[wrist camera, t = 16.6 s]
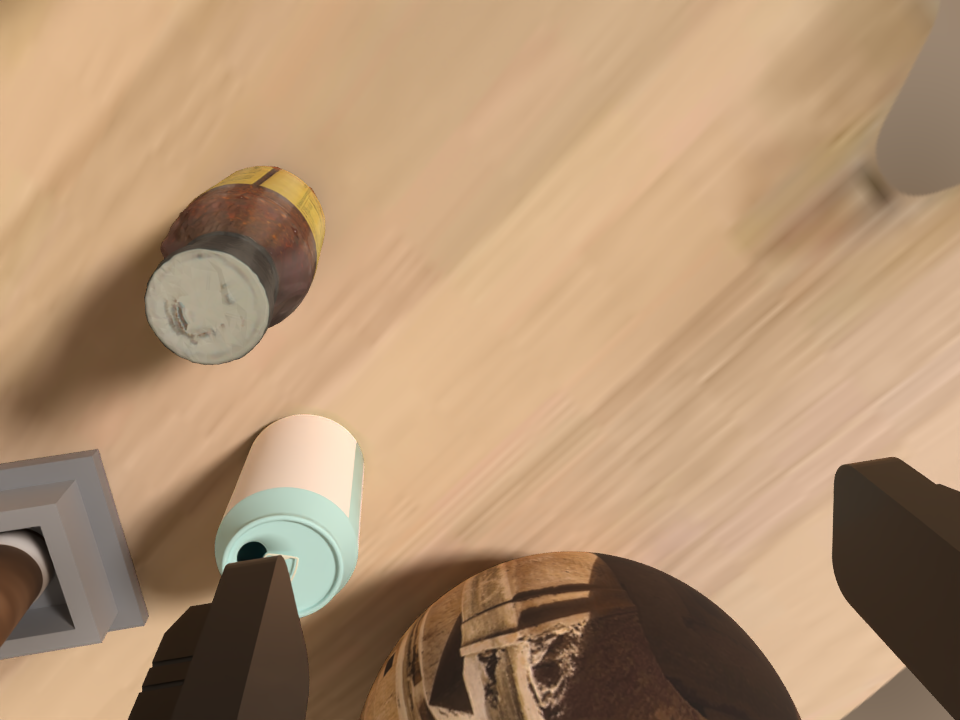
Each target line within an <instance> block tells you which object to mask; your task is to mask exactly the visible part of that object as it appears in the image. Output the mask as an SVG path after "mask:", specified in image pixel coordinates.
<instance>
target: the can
mask: <svg viewBox="0 0 960 720" xmlns="http://www.w3.org/2000/svg"><path fill="white" fill-rule="evenodd" d="M363 479H364V459H363V455H362V452H361V449H360V447H359V445H358V443H357V441H356V440H355V438H354V437H353V436H352V435H351V434H350V432H348V431H347V430H346V429H345V428H344V427H343V426H341V425H340V424H338V423H337V422H335V421H333V420H330V419H328V418H325V417H322V416H317V415H310V414H300V415H293V416H288V417H285V418H282V419H280V420H277V421H275V422H274V423H272V424H270V425H269V426H268V427H266V428H265V429H264V430H263V431H262V432H261V433H260V434H259V435H258V436H257V438H256V439H255V441H254V443H253V444H252V447H251V449H250V451H249V454H248V456H247V459H246V461H245V464H244V466H243V469H242V471H241V474H240V476H239V479H238V481H237V484H236V486H235V489H234V491H233V494H232V496H231V499H230V501H229V504H228V506H227V508H226V511H225V513H224V516H223V518H222V521H221V523H220V526H219V528H218V531H217V534H216V539H215V558H216V563H217V566H218V569H219V572H220V574H221V576H222V573H223V570H224V568H225V566H226V565H227V564H228V563H234V562H240V561H246V560H252V559H258V558H265V557H271V556H277V555H282V556H283V558H284V560H285V562H286V565H287V568H288V572H289V576H290V580H291V585H292V589H293V593H294V598H295V602H296V606H297V611H298V615H299V618H301V617H305V616H307V615H310V614H312V613H314V612H316V611H318V610H320V609H321V608H322V607H324V606H325V605H326V604H327V603H328V602H329V601H330V600H331V599H332V598H333V597H334V596H335V595H336V594H337V593H338V592H339V591H340V590H341V589H342V588H343V587H344V586H345V585H346V583H347V582H348V580H349V579H350V577H351V576H352V574H353V571H354V569H355V566H356V563H357V558H358V548H359V534H360V521H361V507H362V493H363Z"/></svg>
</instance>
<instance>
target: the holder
mask: <svg viewBox="0 0 960 720" xmlns="http://www.w3.org/2000/svg"><path fill="white" fill-rule="evenodd" d="M23 528H27V529H30V530H33V531H35V532H37V533H39V534H40V535H42V536H43V537H44V538H45V541H46V544H47V547H48V550H49V553H50V556H51V559H52V562H53V565H54V568H55V574H54V576H53V578H52V580H51V581H50V583H49V584H48V586H47V587H46V588H45V590H44V591H43V593H42V594H41V595H40V597H39V598H38V599H37V600H36V601H35V602H34V603H32V605H31V606H30V607H29V609H28V610H27V612H26V613H25V614H24V616H23V617H22V619H21V620H20V621H19V623H18V624H17V625H16V627H15V628H14V630H13V631H12V632H11V634H10V635H9V636H8V638H7V639H6V641H5V642H4V643H3V645H2V646H1V647H0V660H1V659H7V658H13V657H19V656H25V655H31V654H37V653H43V652H49V651H55V650H61V649H67V648H73V647H79V646H85V645H91V644H97V643H102V641H103V640H104V638H105V636H106V634H107V632H109V631H115V630H121V629H127V628H133V627H139V626H144V625H145V623H146V621H147V619H148V617H149V615H148V612H147V608H146V605H145V602H144V598H143V595H142V592H141V589H140V585H139V582H138V579H137V575H136V572H135V569H134V566H133V562H132V559H131V556H130V552H129V549H128V546H127V543H126V539H125V536H124V533H123V529H122V526H121V523H120V520H119V516H118V513H117V510H116V506H115V503H114V500H113V496H112V493H111V490H110V487H109V483H108V480H107V477H106V473H105V470H104V467H103V464H102V460H101V457H100V454H99V450H98V449H95V450H89V451H82V452H76V453H69V454H63V455H56V456H49V457H43V458H36V459H30V460H23V461H17V462H10V463H3V464H0V532H4V531H10V530H17V529H23Z"/></svg>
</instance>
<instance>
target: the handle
mask: <svg viewBox="0 0 960 720" xmlns="http://www.w3.org/2000/svg"><path fill="white" fill-rule="evenodd" d="M54 574H55V568H54V565H53V562H52V559H51V556H50V553H49V550H48V547H47V544H46V541H45V538H44V537H43V536H42V535H40V534H39V533H37V532H35V531H33V530H30V529H27V528H23V529H17V530H10V531H4V532H0V647H1V646H2V645H3V643H4V642H5V641H6V639H7V638H8V636H9V635H10V634H11V632H12V631H13V630H14V628H15V627H16V625H17V624H18V623H19V621H20V620H21V619H22V617H23V616H24V614H25V613H26V612H27V610H28V609H29V607H30V606H31V605H32V603H34V602H35V601H36V600H37V599H38V598H39V597H40V595H41V594H42V593H43V591H44V590H45V588H46V587H47V586H48V584H49V583H50V581H51V580H52V578H53V576H54Z"/></svg>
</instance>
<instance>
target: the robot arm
mask: <svg viewBox="0 0 960 720" xmlns="http://www.w3.org/2000/svg"><path fill="white" fill-rule="evenodd" d="M832 562H833V569H834V574H835V577H836V580H837V583H838V586H839V588H840V590H841V592H842V594H843V596H844V597H845V599H846V600H847V601H848V603H849V604H850V605H851V606H852V607H853V608H854V609H855V611H856V612H857V613H858V614H859V615H860V616H861V617H862V618H863V619H864V620H865V622H866V623H867V624H868V625H869V626H870V627H871V628H872V629H873V630H874V631H875V633H876V634H877V635H878V636H879V637H880V638H881V639H882V640H883V641H884V642H885V643H886V645H887V646H888V647H889V648H890V649H891V650H892V651H893V652H894V653H895V654H896V656H897V657H898V658H899V659H900V660H901V661H902V662H903V663H904V664H905V665H906V667H907V668H908V669H909V670H910V671H911V672H912V673H913V674H914V675H915V676H916V677H917V679H918V680H919V681H920V682H921V683H922V684H923V685H924V686H925V687H926V688H927V690H928V691H929V692H930V693H931V694H932V695H933V696H934V697H935V698H936V699H937V701H938V702H939V703H940V704H941V705H942V706H943V707H944V708H945V709H946V710H947V711H948V713H949V714H950V715H951V716H952V717H953V718H954V719H955V720H960V492H959V491H957V490H954V489H951V488H949V487H946V486H943V485H941V484H937V485H936V484H935V483H933V482H932V481H930V480H929V479H928V478H926V477H925V476H923V475H922V474H921V473H919V472H918V471H916V470H915V469H913V468H912V467H911V466H909V465H908V464H906V463H905V462H903V461H902V460H900V459H899V458H896V457H888V458H882V459H876V460H870V461H863V462H857V463H851V464H845V465H842V466H840V467H839V468H838V470H837V472H836V474H835V479H834V505H833V544H832ZM152 664H153V667H152V668H150V669H149V671H148V673H147V676H146V678H145V680H144V683H143V685H142V692H141V693H139V695H138V697H137V699H136V702H135V704H134V706H133V709H132V711H131V713H130V716H129V718H128V720H305V717H306V710H307V703H308V695H309V666H308V657H307V650H306V645H305V641H304V636H303V632H302V628H301V624H300V619H299V615H298V611H297V606H296V602H295V598H294V593H293V589H292V585H291V580H290V576H289V572H288V568H287V565H286V562H285V560H284V558H283V556H282V555H277V556H271V557H265V558H258V559H252V560H246V561H240V562H234V563H228V564H227V565H226V566H225V568H224V570H223V573H222V576H221V579H220V582H219V584H218V587H217V590H216V593H215V596H214V599H213V601H212V603H208V604H202V605H196V606H190V607H189V608H188V610H187V611H186V612H185V613H184V614H183V615H182V616H181V617H180V618H179V619H178V620H177V621H176V622H175V623H174V624H173V625H172V626H171V627H170V628H169V629H168V630H167V631H166V632H165V633H164V636H163V638H162V640H161V643H160V645H159V648H158V650H157V652H156V655H155V657H154V659H153V662H152Z"/></svg>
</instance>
